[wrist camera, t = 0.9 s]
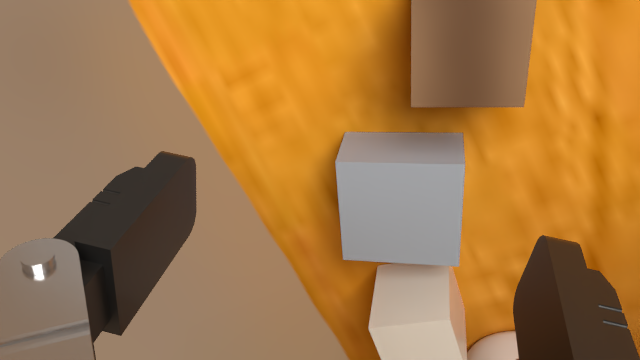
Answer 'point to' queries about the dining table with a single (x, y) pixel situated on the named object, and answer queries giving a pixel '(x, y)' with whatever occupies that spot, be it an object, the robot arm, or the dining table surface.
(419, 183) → the base block
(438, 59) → the walnut block
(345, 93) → the dining table surface
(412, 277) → the beige block
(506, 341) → the milk bottle
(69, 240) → the robot arm
